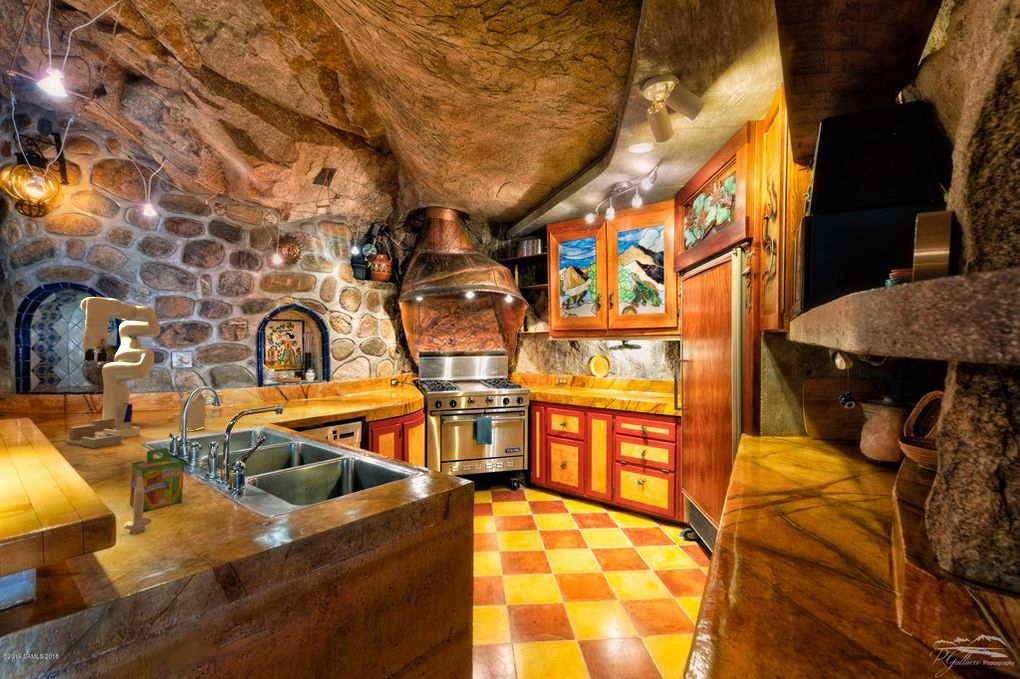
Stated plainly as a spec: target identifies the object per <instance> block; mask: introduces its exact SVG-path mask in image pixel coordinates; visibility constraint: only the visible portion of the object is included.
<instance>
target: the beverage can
mask: <svg viewBox="0 0 1020 679" xmlns="http://www.w3.org/2000/svg"><path fill="white" fill-rule="evenodd" d="M132 424H133V402H129V403H120V404H117V416H116V426H115V428H116V431H117V430H123V429H130V428H131V426H132Z"/></svg>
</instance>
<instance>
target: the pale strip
mask: <svg viewBox="0 0 1020 679" xmlns="http://www.w3.org/2000/svg"><path fill="white" fill-rule="evenodd" d="M91 425H95V435H96V436H101V437H107V433H113V434H118V435H122V439H123V437H125V438H129V436H131V437H136V435H137V436H140V431H141V430H140V429H141V427H139V426H134V425H133V426H132V425H131V428H130V429H123V430H117V431H116V426H115V418H107V419H102V418H99V419H92V420H91Z"/></svg>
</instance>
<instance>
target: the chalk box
mask: <svg viewBox="0 0 1020 679" xmlns="http://www.w3.org/2000/svg"><path fill="white" fill-rule="evenodd" d="M146 452H147V453H146V458H147V459H146V460H141V461H140V460H139V461H136V462H135V461H134V462H132V463H131V481H130V497H129V498H130V501H129V505H130V506H132V507H133V508H134V504H133V503H134V500H135V499H134V498H135V496H134V495H135V494H134V493H135V491H134V490H135V489H136V483H137V478H139V477H142V478H143V487H144V490H145V491H144V494H143V495H144V496H143V497H144V499H143V500H144V501H143V502H144V504H143V505H144V506H143V507H144V508H143V510H144V511H143V512H147V511H151V510H154V509H160V508H164V507H169V506H171V505H172V504H173V505H176V503H177V504H180V503H182V500H183V499H182V498H183V488H184V487H183V486H184V485H183V484H184V483H183V482H184V470H185V462H184V461H183V460H180V459H179V458H176V457H173V456H169V449H168V448H167V447H165V448H158V449H157V448H156V449H152V450H148V451H146ZM156 454H161V455H162V456H161V457H160V458H159V457H158V458H154V455H156ZM173 505H172V506H173Z"/></svg>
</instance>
